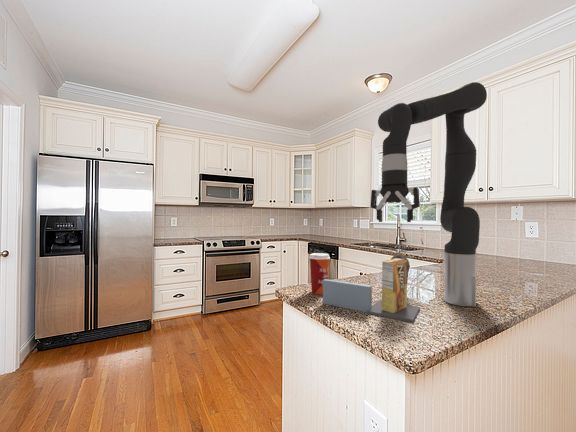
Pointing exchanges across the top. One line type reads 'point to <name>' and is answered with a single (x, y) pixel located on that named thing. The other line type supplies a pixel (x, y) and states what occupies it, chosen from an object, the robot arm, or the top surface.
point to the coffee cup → (318, 271)
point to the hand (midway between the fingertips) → (394, 222)
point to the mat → (403, 314)
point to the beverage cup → (402, 258)
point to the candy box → (394, 285)
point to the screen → (347, 295)
